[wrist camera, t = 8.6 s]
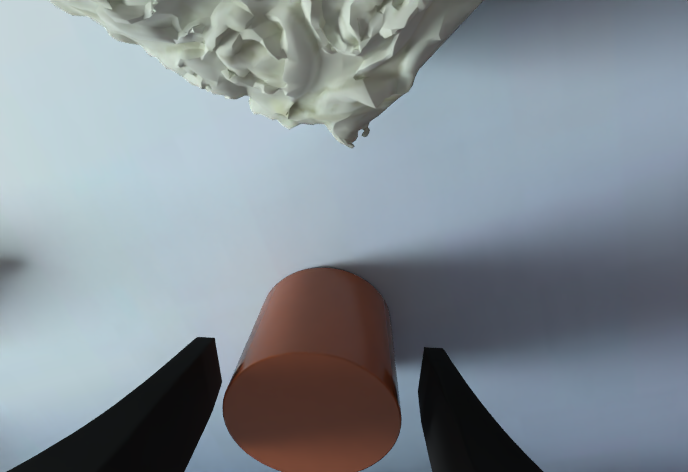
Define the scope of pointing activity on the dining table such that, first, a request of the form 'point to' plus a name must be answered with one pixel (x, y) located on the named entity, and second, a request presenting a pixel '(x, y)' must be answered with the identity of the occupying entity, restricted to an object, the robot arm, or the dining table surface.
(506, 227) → the dining table surface
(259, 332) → the orange cylinder puck
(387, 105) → the ballet flat
